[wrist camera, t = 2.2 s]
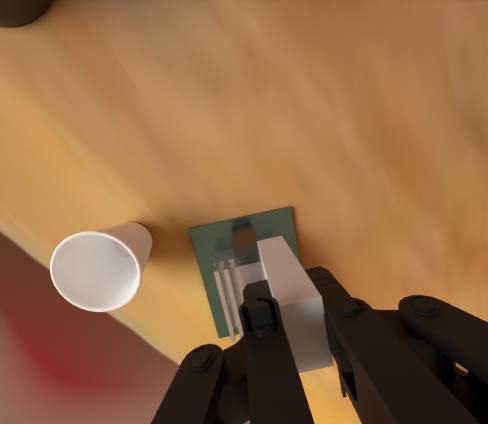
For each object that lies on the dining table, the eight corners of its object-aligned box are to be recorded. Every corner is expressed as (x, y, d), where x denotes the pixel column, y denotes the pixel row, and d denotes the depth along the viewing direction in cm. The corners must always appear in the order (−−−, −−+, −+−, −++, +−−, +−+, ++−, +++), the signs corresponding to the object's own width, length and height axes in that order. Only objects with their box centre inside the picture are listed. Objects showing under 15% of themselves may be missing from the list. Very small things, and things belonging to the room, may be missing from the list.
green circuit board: (189, 228, 38) (175, 253, 28) (289, 206, 39) (310, 224, 29) (219, 334, 43) (216, 388, 33) (308, 315, 43) (331, 363, 33)
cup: (174, 260, 39) (153, 299, 29) (114, 276, 39) (72, 322, 29) (152, 201, 37) (121, 220, 26) (89, 219, 37) (33, 245, 26)
